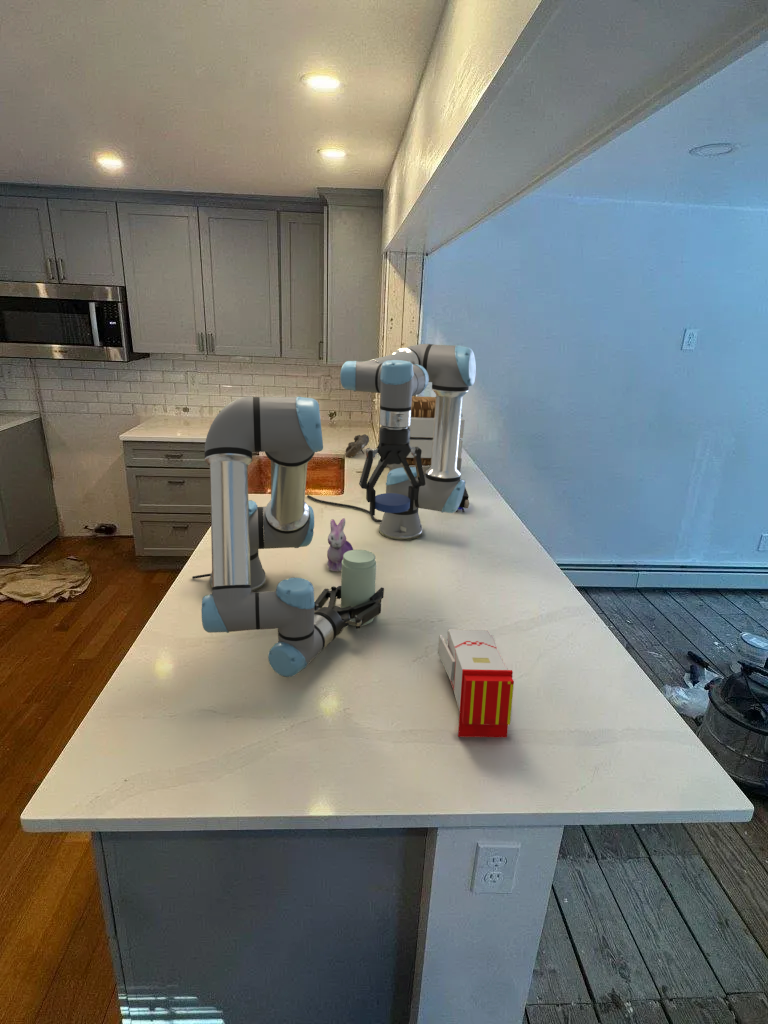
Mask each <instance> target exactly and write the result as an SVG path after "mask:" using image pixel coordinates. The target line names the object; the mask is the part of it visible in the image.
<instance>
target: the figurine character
mask: <svg viewBox="0 0 768 1024" xmlns="http://www.w3.org/2000/svg"><path fill="white" fill-rule="evenodd" d="M469 498H470V496H469V494H468V491H467V488H466V487H465V489H464V494H463V497H462V500H461V503H460V505H459V507H458V509H457V510H456V511H455V513H458V510H461V511H462V513H465V509H469V506H470V500H469Z"/></svg>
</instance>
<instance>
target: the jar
mask: <svg viewBox="0 0 768 1024" xmlns="http://www.w3.org/2000/svg"><path fill="white" fill-rule="evenodd" d="M340 572H341V573H340V575H341V577H340V580H341V581H340V586H341V598H340V607H342V608H345V607H348V606H351V607H353V606H356V605H359V604H362V603H365V602H368V601H370V597H372V596H373V595H374V594H375V593H376V580H377V578H376V577H377V561H376V555H375V553H374V552H372V551H370V550H367V549H353V550H350V551H347V552H346V553H344V555H343V560H342V569H341V571H340ZM348 612H349V611H348ZM374 619H375V617H374V618H372V619H371V620H369V621H368V622H366V623H364V624H363V625H362V626H367V625H369V624H371V623H373V621H374ZM348 626H353V627H355V625H351V624H349V625H348Z"/></svg>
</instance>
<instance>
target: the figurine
mask: <svg viewBox="0 0 768 1024" xmlns="http://www.w3.org/2000/svg"><path fill="white" fill-rule="evenodd" d="M329 524H330V525H329V526H330V532H329V534H328V536H327V543H328V545H329V547H328V548H327V552H326V553H327V555H326V556H327V562H326V565H327V570H328V571H332V572H341V569H342V560H343V555H344V553H346V552H347V551H350V550H354V548H353V545H352V544H351V542H349V541H348V540H347V535H346V534H345V532H344V529H345V527H346V518H345V517H344V518H341V519H340V521H339V522H338V524H337V523H336V520H335V519H333V518H332V519H330V523H329Z"/></svg>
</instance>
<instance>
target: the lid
mask: <svg viewBox="0 0 768 1024" xmlns="http://www.w3.org/2000/svg"><path fill="white" fill-rule="evenodd" d="M409 508H410V498H408V497H407V496H405V495H401V494H396V493H386V492H385V493H384V492H383V493H380V494H375V511H377V512H381V513H385V512H386V513H400V512H405V511H407V510H408V509H409Z"/></svg>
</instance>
